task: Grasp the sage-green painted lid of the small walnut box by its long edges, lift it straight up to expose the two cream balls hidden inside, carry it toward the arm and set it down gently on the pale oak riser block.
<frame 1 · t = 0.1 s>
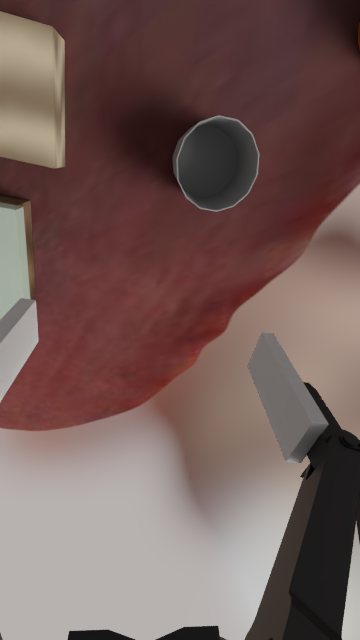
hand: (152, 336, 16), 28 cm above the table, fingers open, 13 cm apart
walnut box: (4, 245, 40), on the table
cup: (204, 162, 37), on the table
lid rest: (33, 101, 32), on the table
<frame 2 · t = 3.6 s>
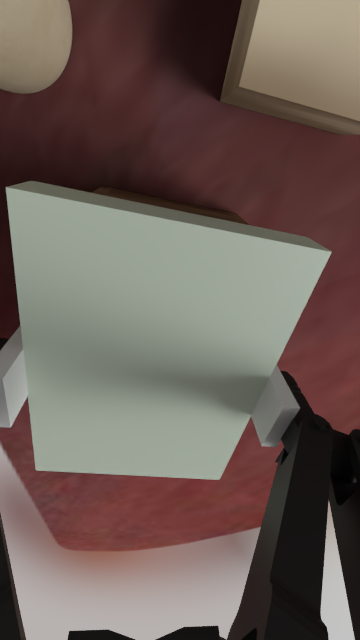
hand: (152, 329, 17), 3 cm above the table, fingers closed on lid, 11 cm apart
walnut box: (153, 304, 20), on the table
candle: (10, 16, 12), on the table
lid: (151, 358, 15), point 6 cm above the table, touching gripper, walnut box
when the fingers open (2 cm above the table, at t = 10.5 s): lid stays where it is, resting on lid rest.
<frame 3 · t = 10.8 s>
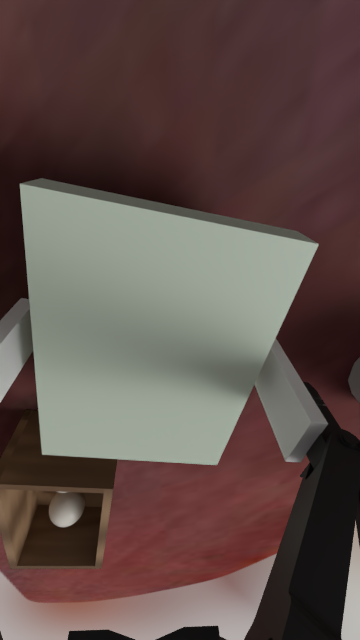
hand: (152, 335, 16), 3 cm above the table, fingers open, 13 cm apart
walnut box: (74, 461, 27), on the table
ball b: (67, 506, 27), point 3 cm above the table, touching walnut box
lid: (152, 347, 16), point 4 cm above the table, touching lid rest
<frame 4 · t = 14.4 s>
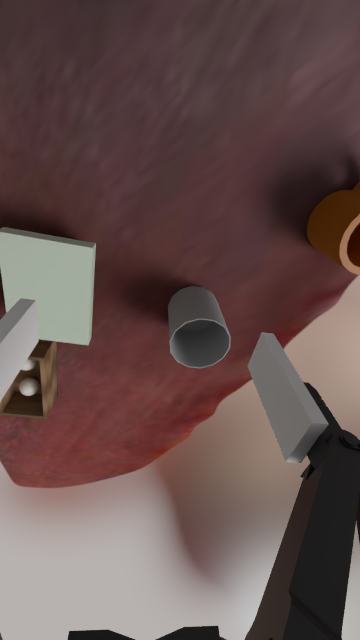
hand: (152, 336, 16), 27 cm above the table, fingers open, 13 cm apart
walnut box: (33, 364, 50), on the table
ball a: (26, 360, 47), point 3 cm above the table, touching walnut box
mug: (344, 212, 40), on the table
ball b: (29, 386, 50), point 3 cm above the table, touching walnut box
cup: (192, 308, 47), on the table
lid: (52, 288, 39), point 4 cm above the table, touching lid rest
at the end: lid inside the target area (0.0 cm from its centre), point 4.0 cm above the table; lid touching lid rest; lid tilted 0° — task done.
